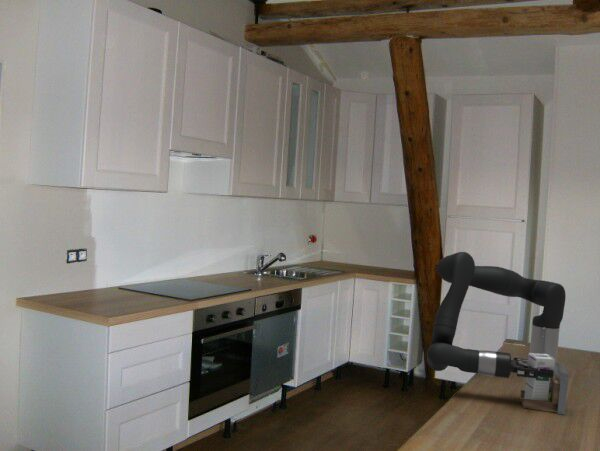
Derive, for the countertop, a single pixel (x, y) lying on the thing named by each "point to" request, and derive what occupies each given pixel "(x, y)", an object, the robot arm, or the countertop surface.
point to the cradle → (543, 404)
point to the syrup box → (539, 378)
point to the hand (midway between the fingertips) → (551, 370)
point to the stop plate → (561, 387)
